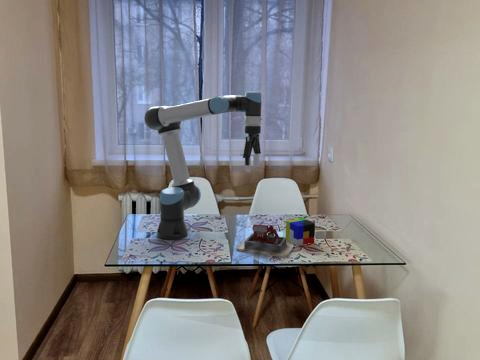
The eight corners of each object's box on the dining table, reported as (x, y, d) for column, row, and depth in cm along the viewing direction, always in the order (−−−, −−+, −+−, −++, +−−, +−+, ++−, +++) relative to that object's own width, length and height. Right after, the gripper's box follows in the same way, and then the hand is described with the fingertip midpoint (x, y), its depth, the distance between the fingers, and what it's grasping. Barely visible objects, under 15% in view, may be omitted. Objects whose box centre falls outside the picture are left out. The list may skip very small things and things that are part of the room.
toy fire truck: (278, 250, 203) (278, 228, 201) (251, 248, 205) (251, 226, 203) (279, 244, 210) (279, 223, 207) (253, 243, 211) (253, 222, 209)
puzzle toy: (297, 246, 211) (297, 226, 209) (285, 239, 220) (286, 220, 218) (314, 243, 216) (315, 223, 213) (302, 236, 224) (303, 217, 222)
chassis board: (236, 250, 205) (236, 241, 204) (245, 240, 218) (245, 231, 217) (287, 257, 197) (287, 247, 196) (294, 246, 210) (294, 237, 209)
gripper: (252, 127, 197) (251, 174, 201) (267, 123, 220) (266, 165, 224) (236, 127, 199) (235, 173, 204) (253, 122, 222) (252, 164, 227)
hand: (251, 169), depth 214 cm, fingers open, 13 cm apart
